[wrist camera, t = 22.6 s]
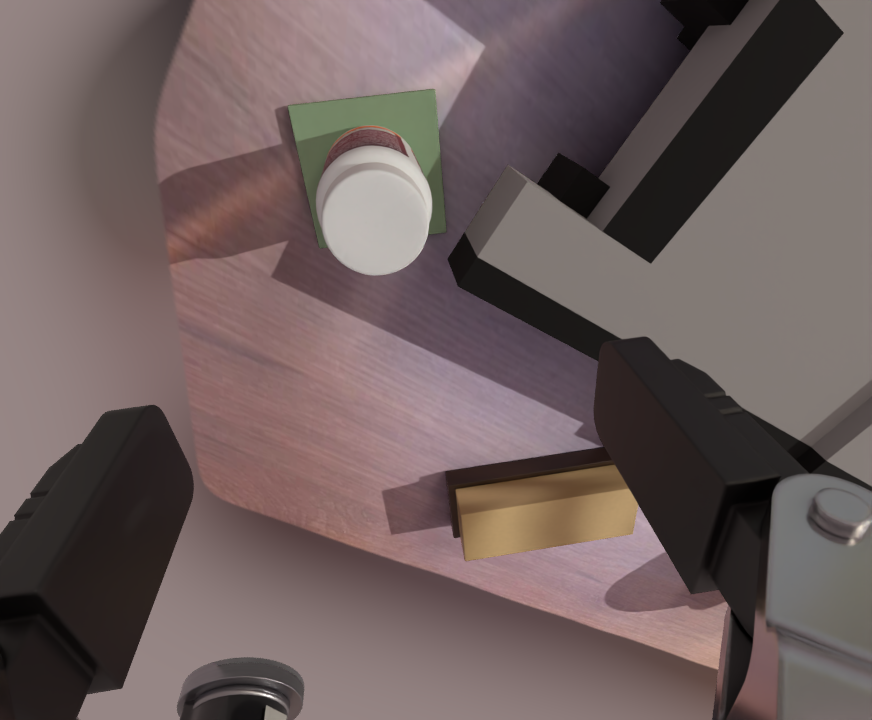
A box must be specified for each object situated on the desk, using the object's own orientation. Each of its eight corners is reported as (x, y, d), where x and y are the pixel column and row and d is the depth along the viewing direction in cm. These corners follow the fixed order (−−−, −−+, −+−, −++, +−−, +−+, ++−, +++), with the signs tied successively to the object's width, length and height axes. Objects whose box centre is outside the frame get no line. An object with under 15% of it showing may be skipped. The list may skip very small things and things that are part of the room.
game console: (714, -214, 20) (898, -346, 13) (1042, 197, 32) (1230, 241, 25) (438, 235, 28) (462, 298, 21) (779, 428, 40) (864, 509, 33)
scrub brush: (451, 523, 41) (458, 566, 38) (445, 471, 38) (452, 512, 35) (709, 482, 43) (738, 520, 39) (724, 428, 39) (758, 464, 36)
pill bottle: (305, 177, 25) (282, 231, 18) (366, 101, 24) (367, 127, 17) (377, 239, 28) (381, 308, 21) (438, 172, 26) (465, 221, 19)
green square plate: (319, 245, 28) (319, 249, 27) (288, 105, 24) (287, 106, 24) (445, 229, 28) (446, 232, 28) (433, 88, 24) (435, 89, 24)
